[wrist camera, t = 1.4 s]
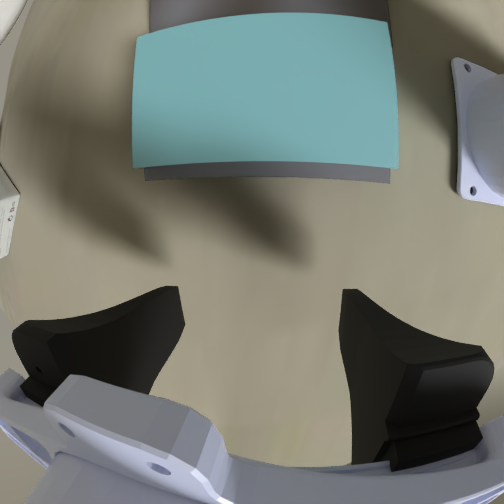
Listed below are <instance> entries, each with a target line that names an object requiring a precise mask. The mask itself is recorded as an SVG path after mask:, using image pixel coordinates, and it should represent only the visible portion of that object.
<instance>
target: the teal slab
mask: <svg viewBox="0 0 504 504" xmlns="http://www.w3.org/2000/svg"><path fill="white" fill-rule="evenodd" d="M398 152H399V136H398V106H397V91H396V80H395V70H394V62H393V54H392V47H391V41H390V35H389V30H388V24H387V22H383V21H378V20H372V19H366V18H360V17H352V16H344V15H334V14H321V13H261V14H248V15H238V16H229V17H222V18H215V19H209V20H203V21H198V22H193V23H188V24H183V25H179V26H175V27H170V28H167V29H163V30H159V31H155V32H152V33H149V34H145V35H142V36H139V37H137V42H136V52H135V63H134V77H133V97H132V158H133V169H134V168H143V167H144V174H145V181H151V180H165V179H183V178H206V177H301V178H324V179H341V180H355V181H368V182H379V183H389V184H390V168H393V169H398Z"/></svg>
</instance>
